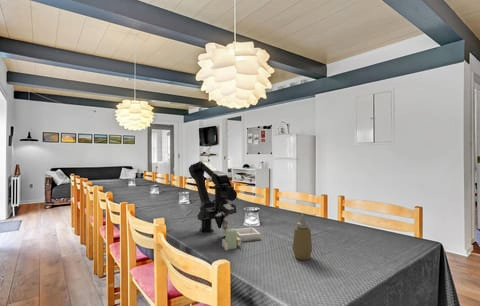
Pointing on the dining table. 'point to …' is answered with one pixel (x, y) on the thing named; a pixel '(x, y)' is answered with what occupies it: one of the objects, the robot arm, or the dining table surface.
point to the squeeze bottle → (302, 240)
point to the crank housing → (225, 244)
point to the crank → (224, 227)
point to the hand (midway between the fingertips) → (219, 228)
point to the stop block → (231, 238)
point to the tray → (248, 234)
